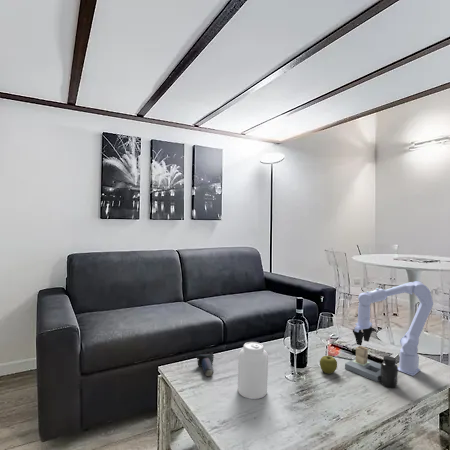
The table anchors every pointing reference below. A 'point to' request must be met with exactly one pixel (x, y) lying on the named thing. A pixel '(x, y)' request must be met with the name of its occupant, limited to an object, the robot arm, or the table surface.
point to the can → (252, 371)
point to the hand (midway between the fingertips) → (362, 342)
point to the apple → (328, 364)
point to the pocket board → (365, 369)
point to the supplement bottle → (389, 372)
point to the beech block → (361, 354)
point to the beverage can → (206, 363)
